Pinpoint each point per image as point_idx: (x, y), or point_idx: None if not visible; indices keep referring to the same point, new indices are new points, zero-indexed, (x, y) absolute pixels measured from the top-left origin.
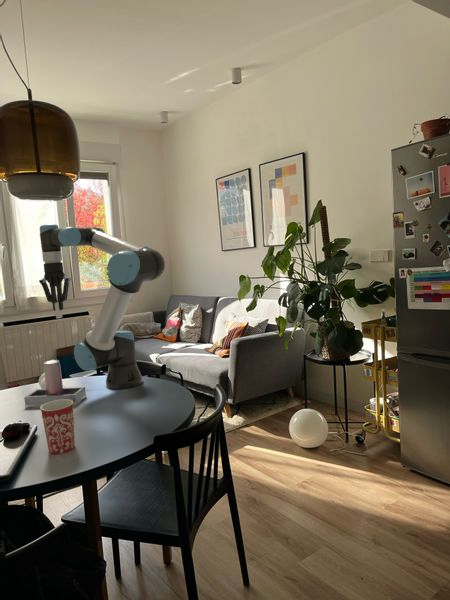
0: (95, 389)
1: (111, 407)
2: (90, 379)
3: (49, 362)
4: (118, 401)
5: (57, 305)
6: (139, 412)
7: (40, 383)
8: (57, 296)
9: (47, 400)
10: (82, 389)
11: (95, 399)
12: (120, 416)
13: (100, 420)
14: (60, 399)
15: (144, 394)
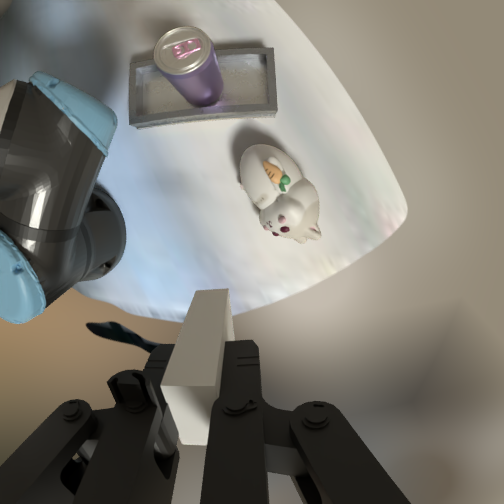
0: (140, 188)
1: (62, 72)
2: (201, 284)
3: (190, 49)
4: None
5: (180, 363)
6: (20, 64)
7: (298, 168)
8: (135, 469)
9: None
10: (129, 108)
11: None
12: (42, 40)
13: (69, 17)
14: None
15: None
